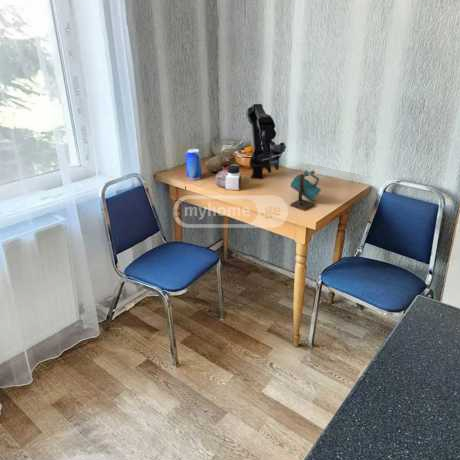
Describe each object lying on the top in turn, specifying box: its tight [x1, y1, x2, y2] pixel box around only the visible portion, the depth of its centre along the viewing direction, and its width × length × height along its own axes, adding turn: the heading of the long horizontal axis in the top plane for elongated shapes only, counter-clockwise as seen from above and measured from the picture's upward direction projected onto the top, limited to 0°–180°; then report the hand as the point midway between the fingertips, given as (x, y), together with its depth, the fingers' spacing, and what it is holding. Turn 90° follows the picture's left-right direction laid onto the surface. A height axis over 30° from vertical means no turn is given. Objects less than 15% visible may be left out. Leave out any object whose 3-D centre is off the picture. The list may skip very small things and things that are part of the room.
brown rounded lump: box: [204, 154, 230, 173], centre depth 236 cm, size 13×8×20 cm
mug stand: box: [290, 169, 316, 212], centre depth 186 cm, size 8×16×14 cm, turn 135°
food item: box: [215, 166, 228, 189], centre depth 211 cm, size 14×8×10 cm, turn 156°
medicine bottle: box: [225, 164, 242, 191], centre depth 206 cm, size 7×7×12 cm
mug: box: [289, 169, 322, 203], centre depth 189 cm, size 12×7×13 cm
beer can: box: [185, 148, 203, 181], centre depth 219 cm, size 8×8×16 cm
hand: (273, 171), depth 201 cm, fingers open, 9 cm apart
